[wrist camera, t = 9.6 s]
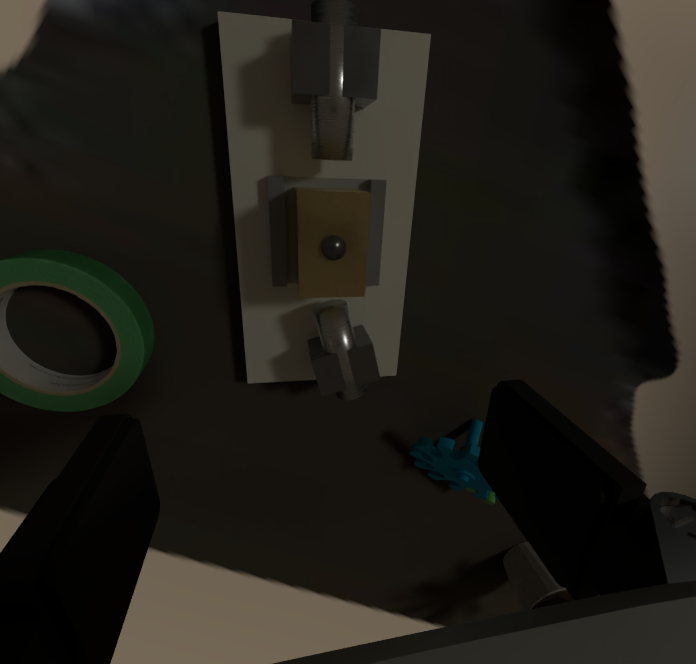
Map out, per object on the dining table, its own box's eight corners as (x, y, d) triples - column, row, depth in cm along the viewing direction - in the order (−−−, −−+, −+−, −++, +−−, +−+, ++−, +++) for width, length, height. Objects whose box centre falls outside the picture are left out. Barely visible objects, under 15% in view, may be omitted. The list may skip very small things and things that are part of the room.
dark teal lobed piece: (389, 443, 33) (504, 464, 27) (410, 388, 36) (518, 396, 30) (436, 496, 39) (539, 524, 33) (451, 445, 42) (548, 462, 36)
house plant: (575, 489, 43) (731, 658, 28) (590, 555, 49) (725, 724, 34) (462, 541, 43) (557, 735, 28) (491, 601, 49) (582, 787, 34)
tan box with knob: (294, 186, 24) (297, 190, 20) (355, 188, 25) (371, 192, 20) (296, 278, 26) (299, 299, 22) (351, 277, 27) (365, 298, 23)
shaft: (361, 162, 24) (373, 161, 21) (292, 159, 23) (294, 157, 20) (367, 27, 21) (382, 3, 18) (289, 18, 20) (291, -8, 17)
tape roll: (103, 416, 30) (87, 438, 27) (-53, 336, 25) (-88, 354, 23) (186, 317, 28) (177, 332, 25) (32, 212, 23) (3, 217, 21)
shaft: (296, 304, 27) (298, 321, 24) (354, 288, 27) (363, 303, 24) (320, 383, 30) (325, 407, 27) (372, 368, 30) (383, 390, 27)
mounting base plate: (248, 375, 30) (246, 388, 28) (220, 19, 21) (215, 5, 19) (392, 368, 32) (398, 380, 30) (423, 40, 23) (436, 29, 21)
